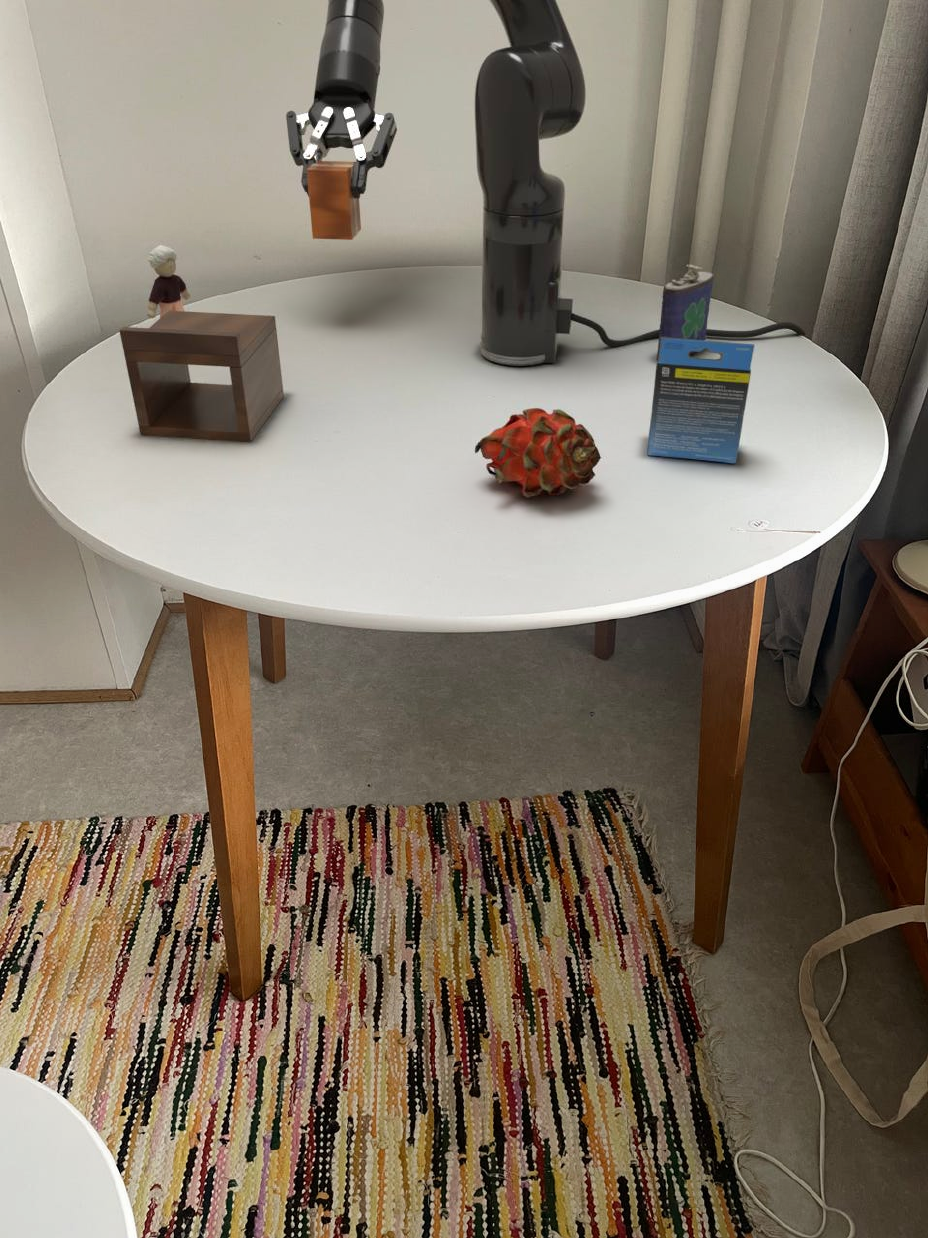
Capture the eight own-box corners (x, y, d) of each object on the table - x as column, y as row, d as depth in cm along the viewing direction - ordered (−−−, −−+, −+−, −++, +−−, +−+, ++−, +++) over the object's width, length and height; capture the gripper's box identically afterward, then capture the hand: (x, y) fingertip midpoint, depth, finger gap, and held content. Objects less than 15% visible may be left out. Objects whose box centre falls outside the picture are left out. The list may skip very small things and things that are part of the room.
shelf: (283, 396, 113) (273, 296, 106) (250, 442, 103) (236, 336, 97) (182, 390, 114) (165, 291, 108) (140, 434, 105) (118, 329, 98)
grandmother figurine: (180, 362, 121) (162, 255, 114) (151, 360, 122) (131, 253, 114) (206, 340, 127) (190, 237, 120) (178, 338, 128) (160, 235, 120)
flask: (691, 340, 127) (703, 254, 121) (711, 345, 126) (724, 259, 120) (650, 360, 122) (661, 271, 116) (671, 366, 120) (682, 276, 114)
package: (361, 229, 127) (357, 161, 122) (352, 240, 123) (347, 169, 118) (322, 228, 128) (316, 160, 123) (312, 238, 124) (305, 168, 119)
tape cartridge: (736, 448, 102) (756, 330, 95) (735, 465, 99) (757, 344, 92) (648, 439, 104) (662, 322, 96) (645, 456, 101) (659, 336, 93)
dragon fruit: (603, 518, 94) (483, 514, 98) (615, 438, 96) (497, 437, 100) (586, 475, 86) (456, 472, 90) (599, 389, 89) (472, 391, 93)
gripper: (284, 46, 122) (266, 173, 119) (399, 48, 120) (384, 176, 117) (300, 89, 129) (284, 209, 126) (409, 91, 127) (395, 213, 125)
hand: (332, 193), depth 122 cm, fingers closed on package, 5 cm apart
